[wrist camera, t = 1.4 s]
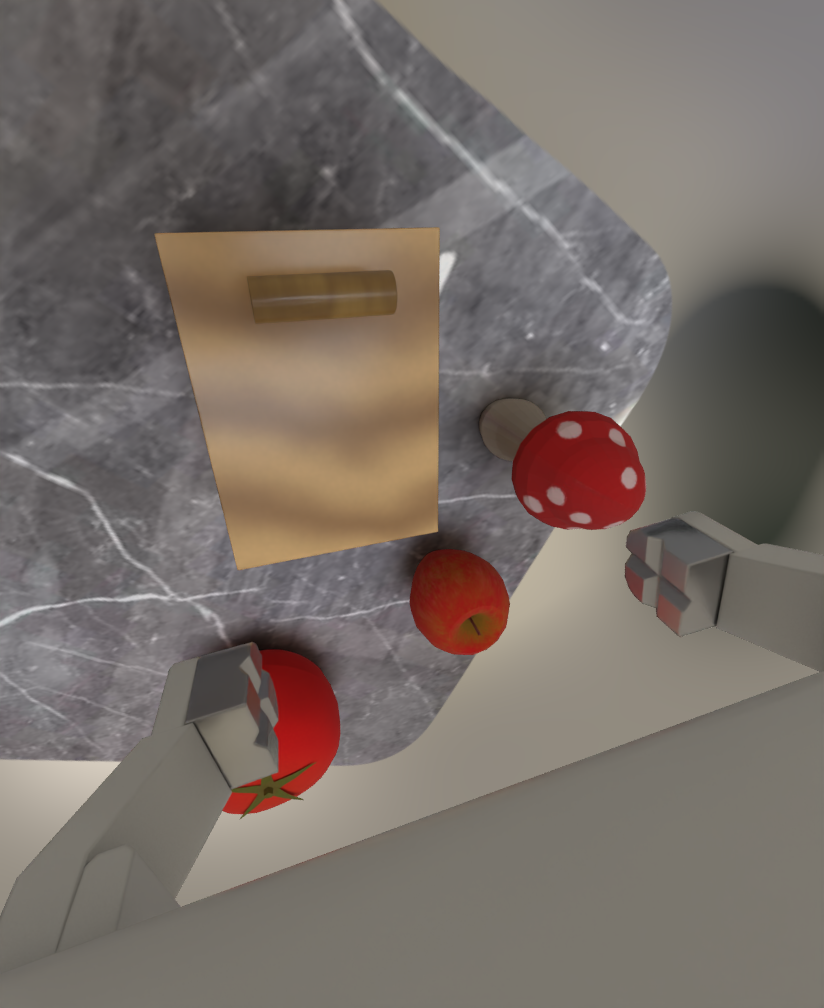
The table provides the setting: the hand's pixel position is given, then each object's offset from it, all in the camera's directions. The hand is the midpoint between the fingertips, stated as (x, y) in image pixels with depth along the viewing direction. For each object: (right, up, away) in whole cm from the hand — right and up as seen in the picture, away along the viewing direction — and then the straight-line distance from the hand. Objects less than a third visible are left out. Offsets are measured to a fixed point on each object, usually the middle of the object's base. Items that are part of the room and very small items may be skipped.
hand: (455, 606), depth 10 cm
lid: (-6, +7, +17) cm, 19 cm away
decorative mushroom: (+8, +9, +33) cm, 35 cm away
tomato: (-16, -15, +37) cm, 43 cm away
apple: (+1, -3, +37) cm, 37 cm away
